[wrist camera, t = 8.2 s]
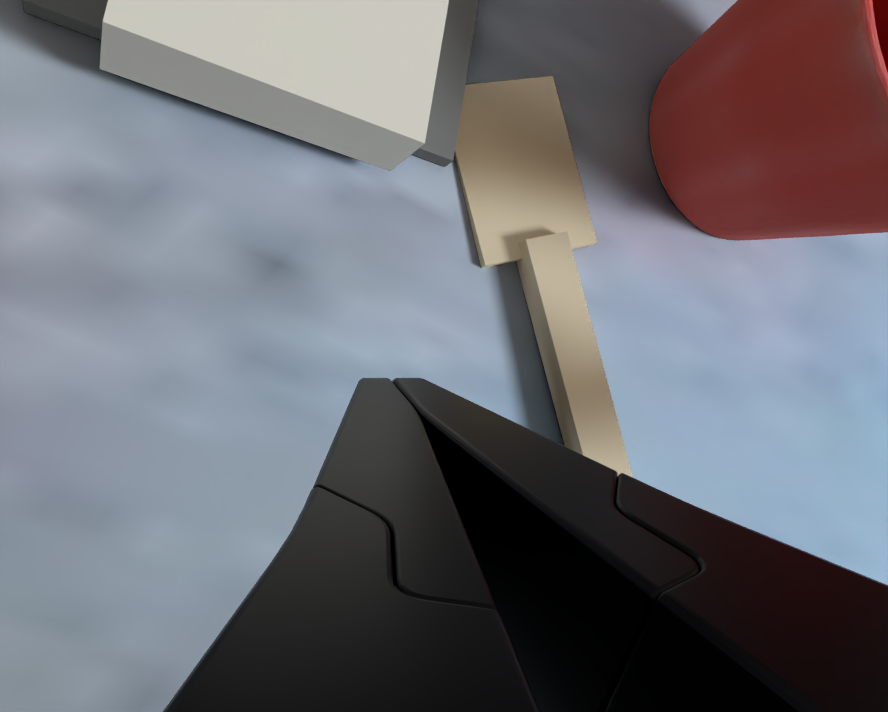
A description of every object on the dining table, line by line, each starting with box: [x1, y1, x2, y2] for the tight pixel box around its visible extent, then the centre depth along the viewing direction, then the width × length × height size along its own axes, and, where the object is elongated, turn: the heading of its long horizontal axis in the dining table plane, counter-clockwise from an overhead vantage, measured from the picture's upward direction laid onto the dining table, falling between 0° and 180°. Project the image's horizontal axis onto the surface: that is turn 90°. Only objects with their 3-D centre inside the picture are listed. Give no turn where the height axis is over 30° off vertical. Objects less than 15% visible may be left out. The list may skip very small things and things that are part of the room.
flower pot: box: [649, 0, 888, 240], centre depth 25 cm, size 11×11×10 cm
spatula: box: [454, 76, 633, 478], centre depth 24 cm, size 18×4×1 cm, turn 14°
